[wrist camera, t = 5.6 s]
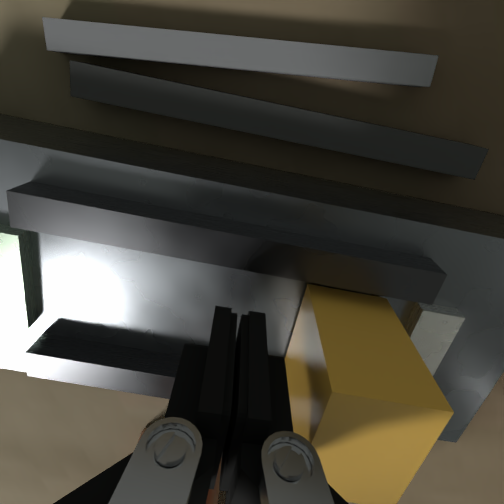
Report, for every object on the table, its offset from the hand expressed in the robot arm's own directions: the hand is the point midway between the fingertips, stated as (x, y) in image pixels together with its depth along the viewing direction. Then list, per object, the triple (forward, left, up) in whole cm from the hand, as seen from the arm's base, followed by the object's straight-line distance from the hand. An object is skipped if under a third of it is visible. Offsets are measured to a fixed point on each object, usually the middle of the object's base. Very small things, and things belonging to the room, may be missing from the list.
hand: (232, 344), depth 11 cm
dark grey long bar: (0, -7, -6) cm, 9 cm away
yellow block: (-4, 0, -2) cm, 4 cm away
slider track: (+1, 0, -6) cm, 6 cm away
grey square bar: (+2, -9, -6) cm, 11 cm away
